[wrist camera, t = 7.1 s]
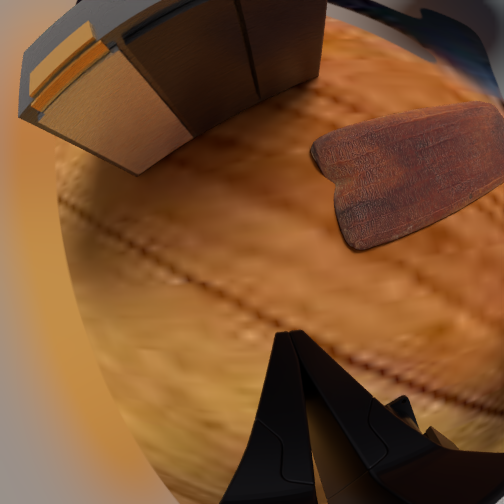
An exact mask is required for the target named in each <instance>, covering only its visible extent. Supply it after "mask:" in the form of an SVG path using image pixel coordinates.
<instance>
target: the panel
mask: <svg viewBox="0 0 504 504" xmlns="http://www.w3.org/2000/svg"><path fill="white" fill-rule="evenodd" d="M38 122H39V123H41V124H43V125H45V126H47V127H49V128H51V129H52V130H54V131H56V132H58V133H60V134H62V135H64V136H66V137H68V138H70V139H72V140H74V141H76V142H78V143H80V144H81V145H83V146H85V147H87V148H89V149H91V150H93V151H95V152H97V153H99V154H101V155H102V156H104V157H106V158H108V159H110V160H112V161H114V162H116V163H118V164H119V165H121V166H123V167H125V168H127V169H129V170H131V171H133V172H135V173H136V174H138V175H139V174H140V173H142V172H143V171H145V170H146V169H147V168H149V167H150V166H152V165H153V164H154V163H156V162H157V161H159V160H160V159H162V158H163V157H165V156H166V155H168V154H169V153H171V152H172V151H174V150H175V149H177V148H178V147H180V146H181V145H183V144H185V143H186V142H188V141H189V140H191V139H193V136H192V134H191V133H190V131H189V130H188V129H187V128H186V126H185V125H184V124H183V123H182V122H181V120H180V119H179V118H178V117H177V115H176V114H175V113H174V112H173V111H172V109H171V108H170V107H169V106H168V105H167V103H166V102H165V101H164V100H163V99H162V97H161V96H160V95H159V94H158V93H157V91H156V90H155V89H154V88H153V87H152V86H151V84H150V83H149V82H148V81H147V80H146V78H145V77H144V76H143V75H142V74H141V73H140V71H139V70H138V69H137V68H136V67H135V66H134V64H133V63H132V62H131V61H130V60H129V59H128V58H127V56H126V55H125V54H124V53H123V52H122V51H121V50H120V48H119V47H118V46H117V45H116V46H115V47H113V48H111V49H110V52H109V53H107V54H106V55H105V56H103V57H102V58H101V59H99V60H98V61H97V62H96V63H94V64H93V65H92V66H91V67H89V68H88V69H87V70H86V71H85V72H83V73H82V74H81V75H80V76H79V77H78V78H76V79H75V80H74V81H73V82H72V83H71V84H70V85H69V86H68V87H67V88H66V89H64V90H63V91H62V92H61V93H60V94H59V95H58V96H57V97H56V98H55V99H54V100H53V101H52V102H51V103H50V104H49V105H48V106H47V107H46V109H45V110H44V111H43V112H40V113H39V114H38Z"/></svg>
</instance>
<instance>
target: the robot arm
mask: <svg viewBox="0 0 504 504" xmlns="http://www.w3.org/2000/svg"><path fill="white" fill-rule="evenodd" d="M404 399H405V400H404ZM402 400H404V401H403V402H402ZM311 450H312V451H311ZM312 453H313V456H314V460H315V463H316V466H317V469H318V472H319V476H320V479H321V482H322V485H323V488H324V492H325V495H326V498H327V502H328V504H504V453H492V452H474V451H463V450H459V449H458V448H457V446H456V445H455V444H454V443H453V442H451V441H450V440H449V439H447V438H446V437H445V436H443V435H442V434H441V433H439V432H438V431H437V430H435V429H434V428H433V427H431V426H430V427H429V428H428V429H427V430H426V433H424V434H422V433H421V431H420V430H419V427H418V424H417V421H416V418H415V416H414V413H413V410H412V407H411V404H410V401H409V399H408V397H407V396H406V395H403V396H401V397H399V398H397V399H396V400H394V401H392V402H391V403H389V404H387V405H386V406H384V405H383V404H381V403H380V402H379V401H378V400H377V399H376V398H375V397H373V396H372V395H371V394H370V393H369V392H368V391H367V390H366V389H365V388H364V387H363V386H362V385H360V384H359V383H358V382H357V381H356V380H355V379H354V378H353V377H352V376H351V375H350V374H349V373H348V372H346V371H345V370H344V369H343V368H342V367H341V366H340V365H339V364H338V363H337V362H336V361H335V360H334V359H333V358H331V357H330V356H329V355H328V354H327V353H326V352H325V351H324V350H323V349H322V348H321V347H320V346H319V345H318V344H317V343H316V342H315V341H313V340H312V339H311V338H310V337H309V336H308V335H307V334H306V333H305V332H304V331H303V330H292V331H290V332H288V331H284V332H277V333H276V334H275V337H274V342H273V346H272V351H271V355H270V359H269V364H268V368H267V372H266V376H265V381H264V385H263V389H262V393H261V397H260V401H259V405H258V409H257V413H256V417H255V421H254V424H253V427H252V431H251V435H250V438H249V441H248V444H247V447H246V449H245V452H244V454H243V456H242V459H241V461H240V463H239V465H238V468H237V470H236V472H235V474H234V476H233V478H232V480H231V482H230V484H229V486H228V488H227V490H226V492H225V494H224V495H223V497H222V499H221V501H220V503H219V504H318V501H317V496H316V489H315V478H314V469H313V460H312Z"/></svg>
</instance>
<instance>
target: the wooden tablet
mask: <svg viewBox="0 0 504 504" xmlns="http://www.w3.org/2000/svg"><path fill="white" fill-rule="evenodd" d="M311 153H312V156H313V158H314V159H315V161H316V163H317V164H318V166H319V168H320V169H321V171H322V173H323V174H324V176H325V177H326V178H327V179H329V180H330V181H332V182H333V183H335V186H336V188H335V193H334V206H335V212H336V216H337V219H338V222H339V225H340V228H341V231H342V234H343V236H344V238H345V240H346V242H347V243H348V244H349V245H350V246H352V247H354V248H355V249H359V250H361V249H362V250H364V249H367V248H371V247H373V246H377V245H380V244H383V243H387V242H390V241H393V240H396V239H398V238H400V237H403V236H405V235H407V234H410V233H412V232H415V231H417V230H420V229H421V228H424V227H426V226H428V225H430V224H432V223H435V222H437V221H438V220H440V219H443V218H444V217H446V216H448V215H450V214H452V213H454V212H456V211H458V210H460V209H461V208H463V207H465V206H466V205H468V204H469V203H471V202H473V201H474V200H476V199H478V198H480V197H481V196H483V195H485V194H486V193H488V192H489V191H491V190H492V189H494V188H495V187H497V186H498V185H500V184H502V183H503V182H504V118H503V116H502V115H501V114H500V113H499V111H498V110H497V108H496V107H495V106H494V105H492V104H490V103H485V102H481V101H469V102H463V103H457V104H449V105H442V106H436V107H427V108H422V109H416V110H410V111H405V112H399V113H395V114H391V115H386V116H382V117H379V118H375V119H371V120H368V121H363V122H360V123H356V124H353V125H349V126H346V127H343V128H340V129H337V130H334V131H332V132H330V133H327V134H325V135H323V136H321V137H319V138H318V139H317V140H316V141H314V142H313V145H312V147H311Z"/></svg>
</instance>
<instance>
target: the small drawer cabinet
mask: <svg viewBox="0 0 504 504" xmlns="http://www.w3.org/2000/svg"><path fill="white" fill-rule="evenodd" d="M326 9H327V0H82V1H81V2H79V3H78V4H77V5H76V6H74V7H73V8H72V9H70V10H69V11H68V12H67V13H66V14H64V15H63V16H62V17H61V18H60V19H58V20H57V21H56V22H55V23H54V24H53V25H52V26H50V27H49V28H48V29H47V30H46V31H45V32H44V33H43V34H42V35H41V36H40V37H39V38H38V39H37V40H36V41H35V42H34V43H33V44H32V45H31V46H30V47H29V48H28V49H27V50H26V51H25V52H24V55H23V61H22V69H21V78H20V89H19V110H18V111H19V112H18V118H21V119H23V120H25V121H27V122H29V123H31V124H33V125H35V126H37V127H39V128H41V129H43V130H45V131H47V132H49V133H51V134H53V135H55V136H57V137H59V138H61V139H63V140H65V141H67V142H69V143H71V144H73V145H75V146H77V147H79V148H81V149H83V150H85V151H87V152H89V153H91V154H93V155H95V156H97V157H99V158H101V159H103V160H105V161H107V162H109V163H111V164H113V165H115V166H117V167H119V168H121V169H123V170H125V171H126V172H128V173H130V174H132V175H134V176H136V177H137V176H138V174H136V173H135V172H133V171H131V170H129V169H127V168H125V167H123V166H121V165H119V164H118V163H116V162H114V161H112V160H110V159H108V158H106V157H104V156H102V155H101V154H99V153H97V152H95V151H93V150H91V149H89V148H87V147H85V146H83V145H81V144H80V143H78V142H76V141H74V140H72V139H70V138H68V137H66V136H64V135H62V134H60V133H58V132H56V131H54V130H52V129H51V128H49V127H47V126H45V125H43V124H41V123H39V122H38V114H39V113H40V112H43V111H44V110H45V109H46V107H47V106H48V105H49V104H50V103H51V102H52V101H53V100H54V99H55V98H56V97H57V96H58V95H59V94H60V93H61V92H62V91H63V90H64V89H66V88H67V87H68V86H69V85H70V84H71V83H72V82H73V81H74V80H75V79H76V78H78V77H79V76H80V75H81V74H82V73H83V72H85V71H86V70H87V69H88V68H89V67H91V66H92V65H93V64H94V63H96V62H97V61H98V60H99V59H101V58H102V57H103V56H105V55H106V54H107V53H109V52H110V49H111V48H113V47H115V46H116V45H117V46H118V47H119V48H120V50H121V51H122V52H123V53H124V54H125V55H126V56H127V58H128V59H129V60H130V61H131V62H132V63H133V64H134V66H135V67H136V68H137V69H138V70H139V71H140V73H141V74H142V75H143V76H144V77H145V78H146V80H147V81H148V82H149V83H150V84H151V86H152V87H153V88H154V89H155V90H156V91H157V93H158V94H159V95H160V96H161V97H162V99H163V100H164V101H165V102H166V103H167V105H168V106H169V107H170V108H171V109H172V111H173V112H174V113H175V114H176V115H177V117H178V118H179V119H180V120H181V122H182V123H183V124H184V125H185V126H186V128H187V129H188V130H189V131H190V133H191V134H192V136H193V138H195V137H197V136H198V135H200V134H202V133H203V132H205V131H207V130H208V129H210V128H212V127H214V126H215V125H217V124H219V123H221V122H222V121H224V120H226V119H228V118H230V117H231V116H233V115H235V114H237V113H239V112H241V111H243V110H245V109H247V108H248V107H250V106H252V105H254V104H256V103H258V102H260V101H262V100H264V99H267V98H269V97H271V96H273V95H275V94H277V93H279V92H281V91H284V90H286V89H288V88H290V87H293V86H295V85H297V84H300V83H302V82H304V81H307V80H309V79H312V78H314V77H317V76H319V69H320V61H321V53H322V45H323V36H324V28H325V18H326ZM191 140H192V139H191ZM189 141H190V140H189ZM189 141H188V142H189ZM186 143H187V142H186ZM183 145H184V144H183ZM181 146H182V145H181ZM181 146H180V147H181ZM178 148H179V147H178ZM178 148H177V149H178ZM175 150H176V149H175ZM175 150H174V151H175ZM172 152H173V151H172ZM172 152H171V153H172ZM169 154H170V153H169ZM166 156H167V155H166ZM166 156H165V157H166ZM163 158H164V157H163ZM163 158H162V159H163ZM160 160H161V159H160ZM160 160H159V161H160ZM157 162H158V161H157ZM157 162H156V163H157ZM154 164H155V163H154ZM154 164H153V165H154ZM150 167H151V166H150ZM150 167H149V168H150ZM147 169H148V168H147ZM147 169H146V170H147ZM143 172H144V171H143ZM143 172H142V173H143ZM140 174H141V173H140ZM140 174H139V175H140Z"/></svg>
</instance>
